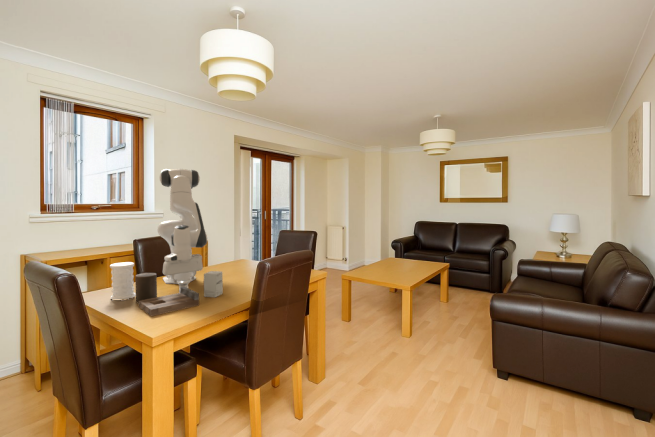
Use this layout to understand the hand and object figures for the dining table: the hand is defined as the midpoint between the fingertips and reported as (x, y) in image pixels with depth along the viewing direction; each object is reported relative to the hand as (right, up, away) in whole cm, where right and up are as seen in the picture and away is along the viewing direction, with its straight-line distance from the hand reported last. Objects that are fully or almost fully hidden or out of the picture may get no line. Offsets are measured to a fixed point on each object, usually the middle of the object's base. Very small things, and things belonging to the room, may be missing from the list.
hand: (183, 281), depth 179 cm
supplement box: (+15, -8, +3) cm, 17 cm away
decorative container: (-32, -9, -2) cm, 33 cm away
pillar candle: (-16, -9, -7) cm, 20 cm away
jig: (0, -9, -16) cm, 18 cm away
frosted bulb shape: (0, -8, +1) cm, 8 cm away
